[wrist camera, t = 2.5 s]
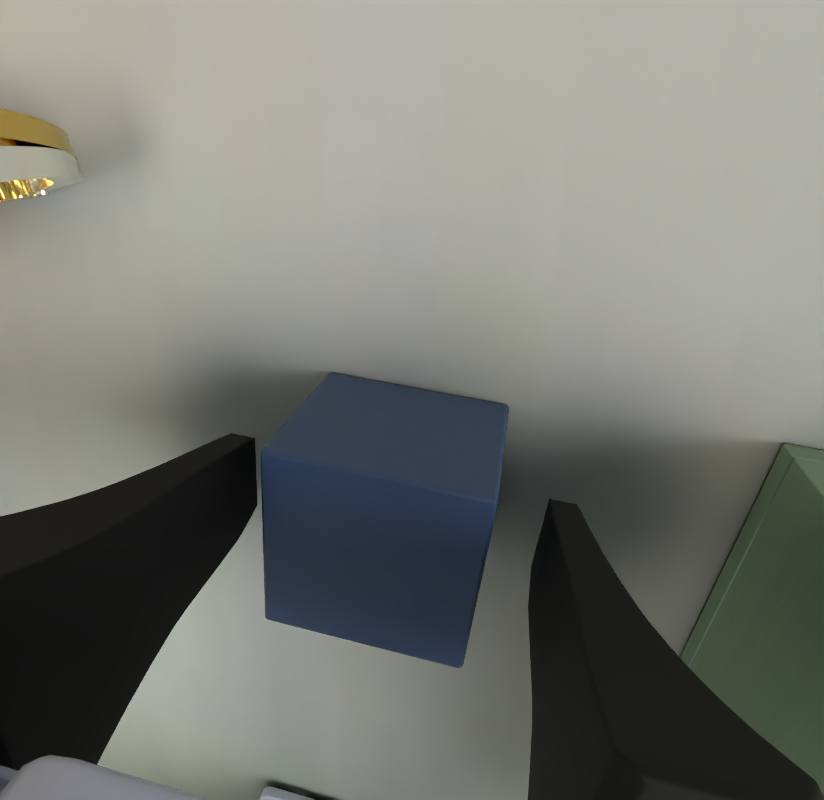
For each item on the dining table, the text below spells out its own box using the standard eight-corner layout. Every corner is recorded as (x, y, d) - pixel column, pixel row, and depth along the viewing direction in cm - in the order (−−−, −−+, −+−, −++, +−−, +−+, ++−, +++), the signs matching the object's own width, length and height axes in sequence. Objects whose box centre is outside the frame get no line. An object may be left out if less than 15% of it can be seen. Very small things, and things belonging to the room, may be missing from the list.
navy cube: (324, 513, 16) (263, 620, 13) (329, 370, 14) (258, 450, 10) (479, 548, 15) (462, 671, 12) (509, 404, 13) (498, 501, 10)
